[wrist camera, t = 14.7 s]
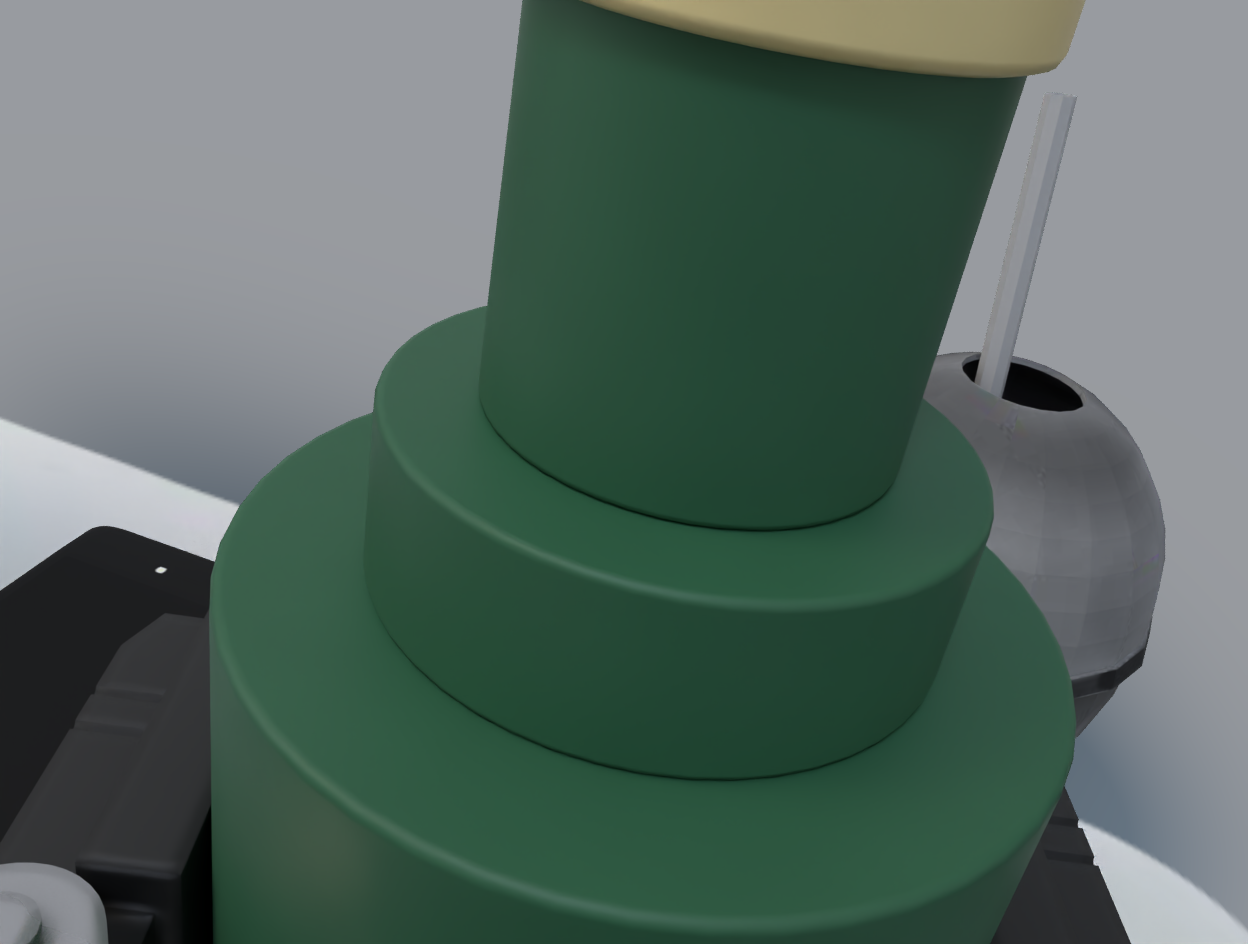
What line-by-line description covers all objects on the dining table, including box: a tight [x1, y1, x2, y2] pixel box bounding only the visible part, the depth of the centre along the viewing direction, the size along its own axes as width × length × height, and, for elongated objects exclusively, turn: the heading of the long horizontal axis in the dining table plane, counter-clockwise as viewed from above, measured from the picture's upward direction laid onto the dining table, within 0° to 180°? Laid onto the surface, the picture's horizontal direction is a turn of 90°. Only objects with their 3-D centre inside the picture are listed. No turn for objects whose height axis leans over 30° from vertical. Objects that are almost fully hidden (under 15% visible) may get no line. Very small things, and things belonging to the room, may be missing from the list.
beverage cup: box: [923, 92, 1165, 738], centre depth 23 cm, size 7×7×20 cm
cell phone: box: [0, 526, 215, 842], centre depth 28 cm, size 9×18×1 cm, turn 161°
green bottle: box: [209, 0, 1085, 944], centre depth 10 cm, size 6×6×17 cm
